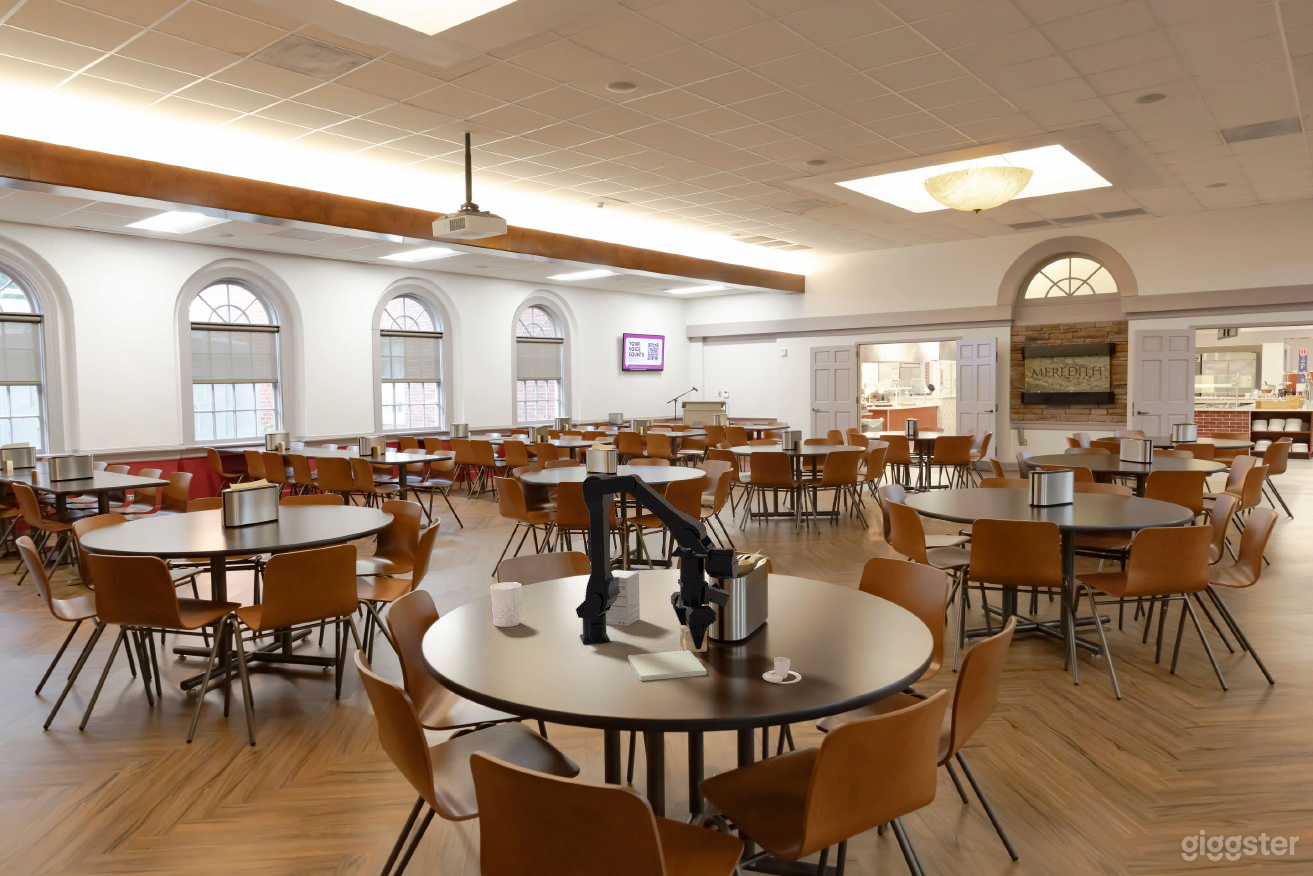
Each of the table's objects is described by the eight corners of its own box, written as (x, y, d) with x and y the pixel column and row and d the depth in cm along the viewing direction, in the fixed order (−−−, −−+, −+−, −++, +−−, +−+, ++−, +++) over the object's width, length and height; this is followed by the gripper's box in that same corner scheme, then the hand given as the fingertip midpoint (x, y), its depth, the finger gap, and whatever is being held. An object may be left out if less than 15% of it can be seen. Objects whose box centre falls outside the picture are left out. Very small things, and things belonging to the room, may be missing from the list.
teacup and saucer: (772, 688, 164) (771, 668, 164) (751, 676, 172) (751, 657, 172) (809, 682, 168) (809, 662, 168) (787, 670, 175) (787, 651, 175)
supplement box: (615, 616, 218) (614, 569, 218) (640, 619, 215) (639, 571, 215) (602, 623, 212) (601, 575, 211) (627, 626, 209) (626, 577, 208)
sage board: (628, 659, 182) (628, 655, 182) (689, 654, 185) (689, 650, 185) (640, 680, 169) (640, 676, 169) (706, 674, 172) (706, 670, 172)
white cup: (501, 629, 208) (500, 590, 207) (485, 623, 214) (484, 585, 213) (528, 623, 213) (527, 585, 212) (512, 618, 219) (511, 580, 218)
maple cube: (680, 646, 192) (679, 625, 191) (701, 645, 193) (700, 623, 192) (685, 653, 187) (685, 631, 187) (706, 651, 188) (706, 629, 188)
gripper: (738, 582, 182) (739, 652, 182) (714, 566, 200) (715, 629, 201) (689, 586, 179) (690, 656, 180) (669, 568, 197) (670, 633, 198)
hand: (693, 643), depth 190 cm, fingers open, 9 cm apart
